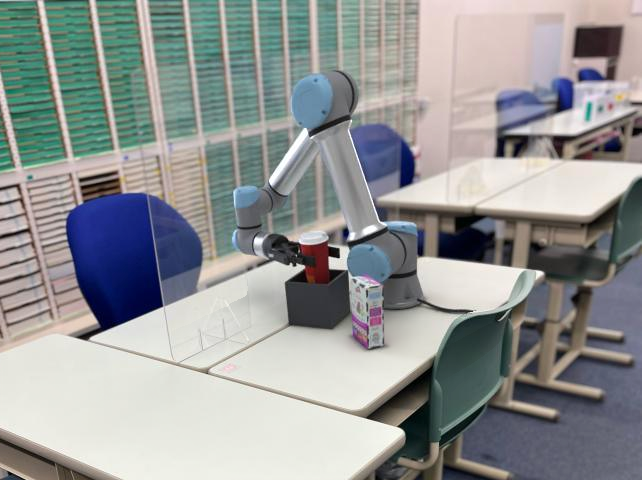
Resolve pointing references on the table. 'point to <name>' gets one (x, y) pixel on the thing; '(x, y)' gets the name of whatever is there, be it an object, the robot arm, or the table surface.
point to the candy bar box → (367, 311)
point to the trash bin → (318, 300)
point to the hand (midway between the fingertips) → (326, 257)
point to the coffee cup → (316, 256)
